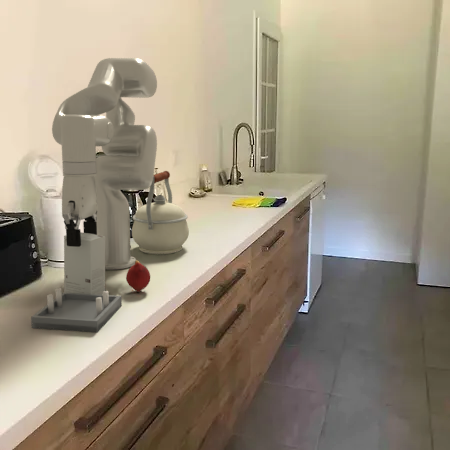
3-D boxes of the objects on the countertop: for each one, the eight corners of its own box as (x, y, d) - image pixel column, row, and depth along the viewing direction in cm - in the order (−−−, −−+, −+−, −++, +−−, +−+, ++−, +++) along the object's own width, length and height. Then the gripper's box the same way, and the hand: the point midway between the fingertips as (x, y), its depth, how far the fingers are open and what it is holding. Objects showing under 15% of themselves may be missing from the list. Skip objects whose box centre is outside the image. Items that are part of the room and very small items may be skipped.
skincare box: (64, 295, 125) (60, 235, 122) (80, 288, 130) (77, 230, 127) (92, 301, 121) (89, 239, 118) (107, 293, 127) (105, 234, 124)
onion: (151, 287, 131) (151, 257, 129) (149, 295, 125) (148, 263, 124) (128, 287, 131) (127, 257, 129) (125, 295, 125) (124, 263, 124)
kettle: (178, 259, 157) (177, 177, 151) (121, 255, 160) (118, 175, 155) (198, 240, 181) (198, 169, 175) (148, 237, 184) (147, 167, 179)
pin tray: (63, 302, 120) (62, 281, 119) (121, 305, 119) (120, 284, 117) (31, 328, 106) (30, 304, 105) (97, 332, 104) (96, 308, 103)
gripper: (79, 166, 128) (82, 234, 131) (46, 171, 111) (50, 249, 114) (108, 167, 127) (110, 235, 130) (80, 172, 110) (83, 250, 113)
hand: (82, 241), depth 122 cm, fingers open, 9 cm apart
